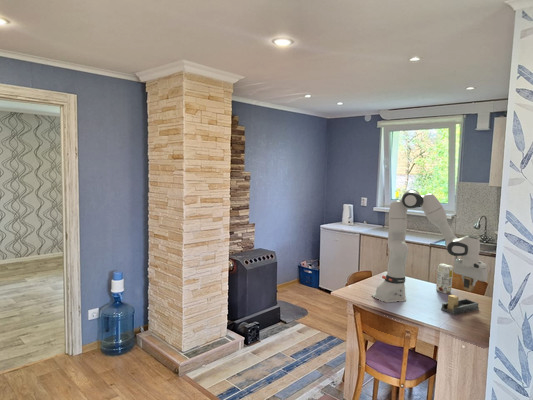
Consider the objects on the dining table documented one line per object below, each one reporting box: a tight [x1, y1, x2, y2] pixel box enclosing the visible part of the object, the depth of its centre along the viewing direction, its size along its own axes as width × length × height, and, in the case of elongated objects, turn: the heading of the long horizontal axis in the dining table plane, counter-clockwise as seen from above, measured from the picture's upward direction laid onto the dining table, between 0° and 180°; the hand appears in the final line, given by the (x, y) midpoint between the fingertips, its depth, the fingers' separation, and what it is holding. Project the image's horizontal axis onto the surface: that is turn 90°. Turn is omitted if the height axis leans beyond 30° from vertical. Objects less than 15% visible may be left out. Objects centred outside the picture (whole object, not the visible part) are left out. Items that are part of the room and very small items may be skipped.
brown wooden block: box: [463, 276, 475, 292], centre depth 224 cm, size 5×4×8 cm
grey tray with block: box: [440, 294, 480, 316], centre depth 223 cm, size 22×9×10 cm, turn 116°
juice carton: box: [435, 263, 454, 294], centre depth 254 cm, size 8×9×19 cm
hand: (468, 284), depth 224 cm, fingers closed on brown wooden block, 4 cm apart
